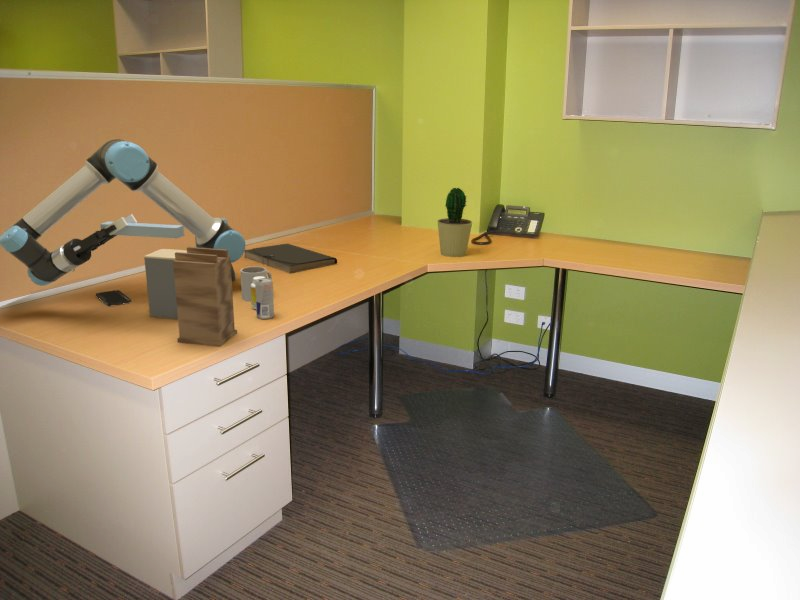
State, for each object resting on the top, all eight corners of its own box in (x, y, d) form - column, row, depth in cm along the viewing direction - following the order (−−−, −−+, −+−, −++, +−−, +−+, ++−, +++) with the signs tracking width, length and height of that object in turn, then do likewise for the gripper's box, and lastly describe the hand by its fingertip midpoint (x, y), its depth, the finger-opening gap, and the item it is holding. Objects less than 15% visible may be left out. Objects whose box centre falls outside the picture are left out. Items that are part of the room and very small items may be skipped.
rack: (196, 329, 194) (189, 245, 186) (237, 332, 192) (232, 248, 184) (177, 342, 184) (169, 254, 176) (220, 346, 182) (214, 257, 174)
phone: (118, 289, 227) (132, 300, 216) (118, 292, 228) (132, 303, 217) (94, 293, 223) (107, 304, 211) (94, 296, 223) (107, 307, 212)
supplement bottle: (260, 311, 211) (258, 281, 208) (248, 308, 214) (246, 278, 211) (272, 307, 215) (271, 277, 212) (261, 304, 218) (259, 274, 215)
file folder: (243, 249, 275) (290, 242, 292) (243, 258, 277) (290, 251, 293) (288, 264, 253) (337, 256, 269) (289, 275, 254) (337, 265, 270)
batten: (109, 231, 194) (108, 221, 193) (184, 235, 190) (183, 225, 189) (101, 234, 190) (100, 224, 189) (177, 238, 186) (176, 228, 185)
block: (167, 306, 213) (161, 248, 207) (201, 309, 211) (196, 251, 205) (150, 316, 204) (144, 256, 198) (185, 319, 202) (180, 258, 196)
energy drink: (261, 313, 209) (260, 277, 205) (277, 315, 208) (275, 278, 204) (253, 318, 204) (251, 281, 201) (269, 320, 203) (267, 283, 199)
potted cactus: (438, 258, 283) (441, 188, 274) (433, 249, 298) (436, 183, 288) (473, 258, 284) (477, 189, 275) (467, 249, 299) (470, 184, 290)
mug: (250, 303, 218) (249, 274, 215) (237, 297, 224) (235, 269, 221) (281, 296, 227) (280, 268, 224) (267, 290, 233) (266, 263, 229)
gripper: (97, 258, 205) (152, 225, 198) (60, 272, 189) (119, 237, 182) (83, 237, 204) (138, 203, 197) (45, 250, 188) (104, 213, 181)
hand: (129, 219), depth 189 cm, fingers closed on batten, 4 cm apart
